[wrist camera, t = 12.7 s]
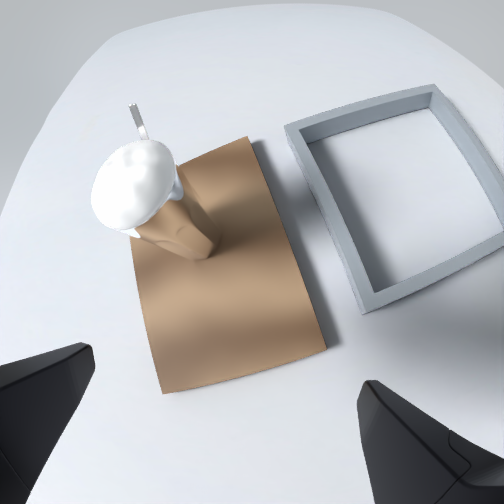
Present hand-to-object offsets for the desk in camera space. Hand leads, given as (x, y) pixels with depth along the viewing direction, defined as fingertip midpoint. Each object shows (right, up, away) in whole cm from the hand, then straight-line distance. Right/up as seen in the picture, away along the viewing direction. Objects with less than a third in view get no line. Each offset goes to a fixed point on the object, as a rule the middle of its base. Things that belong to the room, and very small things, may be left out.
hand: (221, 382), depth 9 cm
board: (-2, +3, +12) cm, 13 cm away
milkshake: (-3, +5, +12) cm, 13 cm away
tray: (+12, +9, +10) cm, 18 cm away
